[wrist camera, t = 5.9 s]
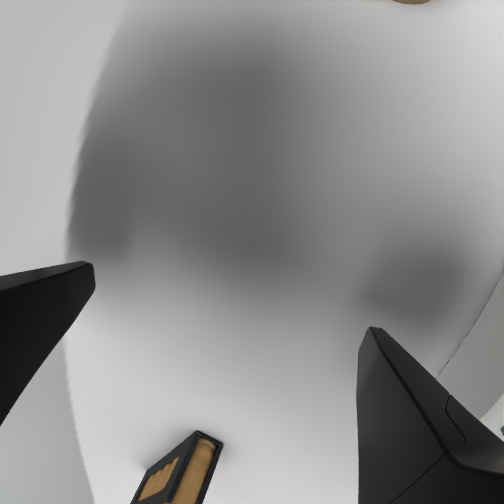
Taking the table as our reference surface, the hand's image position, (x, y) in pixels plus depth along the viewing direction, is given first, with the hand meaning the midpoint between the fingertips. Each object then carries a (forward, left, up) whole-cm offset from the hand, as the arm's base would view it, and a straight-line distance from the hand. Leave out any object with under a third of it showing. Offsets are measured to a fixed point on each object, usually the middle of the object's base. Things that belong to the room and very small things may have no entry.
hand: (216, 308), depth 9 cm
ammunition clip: (+3, +16, -3) cm, 16 cm away
